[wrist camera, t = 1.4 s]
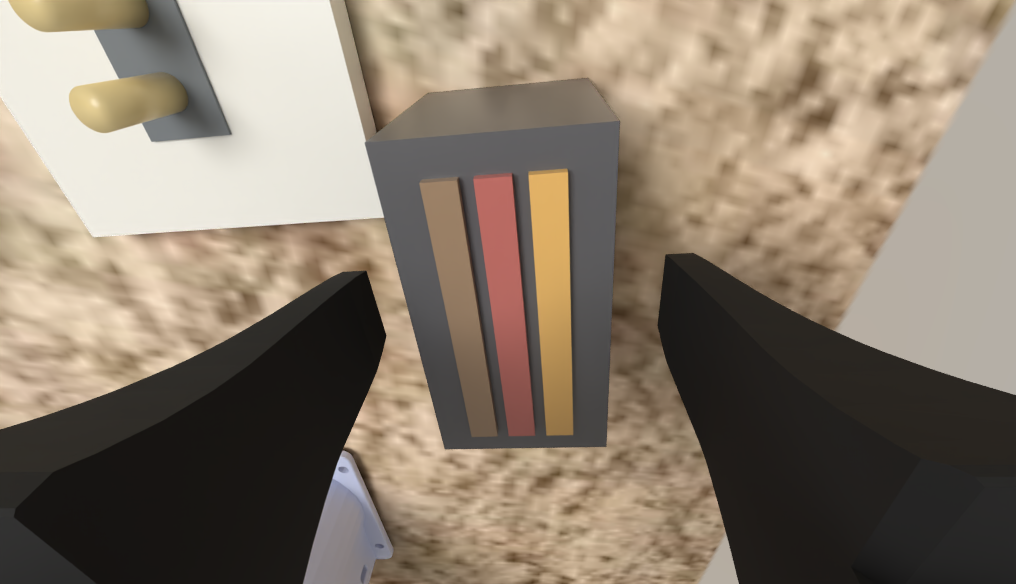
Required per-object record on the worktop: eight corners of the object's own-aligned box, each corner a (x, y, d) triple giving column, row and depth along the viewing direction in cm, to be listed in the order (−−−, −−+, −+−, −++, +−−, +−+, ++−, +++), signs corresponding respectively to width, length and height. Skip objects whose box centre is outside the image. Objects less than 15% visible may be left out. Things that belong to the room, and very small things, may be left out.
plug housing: (586, 325, 17) (607, 452, 12) (469, 329, 17) (443, 455, 12) (588, 78, 12) (621, 123, 7) (427, 92, 12) (360, 145, 8)
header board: (394, 205, 14) (358, 255, 11) (117, 224, 15) (17, 275, 12) (241, -420, 8) (71, -668, 5) (-219, -320, 9) (-589, -480, 6)
